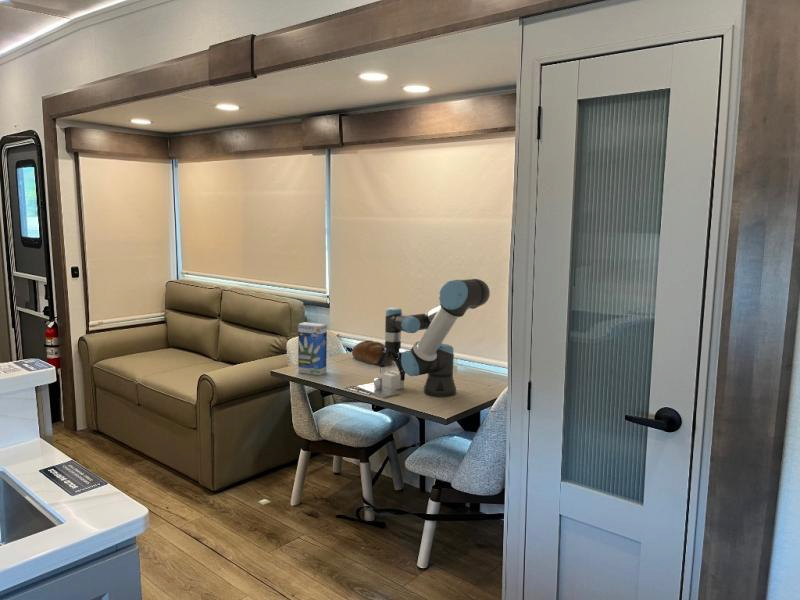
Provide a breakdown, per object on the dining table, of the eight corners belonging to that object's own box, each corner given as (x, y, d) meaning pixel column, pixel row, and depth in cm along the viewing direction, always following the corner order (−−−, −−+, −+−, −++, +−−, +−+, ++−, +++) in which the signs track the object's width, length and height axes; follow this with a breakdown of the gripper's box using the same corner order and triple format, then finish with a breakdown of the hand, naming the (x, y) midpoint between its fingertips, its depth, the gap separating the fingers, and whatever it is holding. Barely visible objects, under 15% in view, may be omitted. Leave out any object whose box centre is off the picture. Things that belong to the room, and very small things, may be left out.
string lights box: (297, 372, 312) (297, 323, 308) (305, 369, 319) (304, 321, 315) (320, 375, 307) (320, 326, 304) (327, 372, 314) (327, 323, 311)
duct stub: (400, 394, 278) (400, 381, 277) (383, 398, 271) (383, 385, 270) (373, 384, 292) (373, 372, 292) (356, 388, 286) (356, 375, 285)
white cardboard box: (403, 387, 288) (404, 373, 287) (391, 390, 283) (391, 375, 282) (393, 383, 294) (393, 369, 293) (380, 386, 289) (380, 372, 288)
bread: (378, 368, 325) (378, 347, 324) (345, 358, 347) (345, 338, 345) (399, 363, 336) (399, 343, 334) (366, 354, 357) (366, 335, 355)
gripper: (416, 344, 279) (415, 388, 282) (382, 334, 297) (381, 376, 300) (404, 346, 274) (403, 391, 277) (370, 336, 292) (369, 378, 296)
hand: (391, 383), depth 289 cm, fingers open, 13 cm apart
